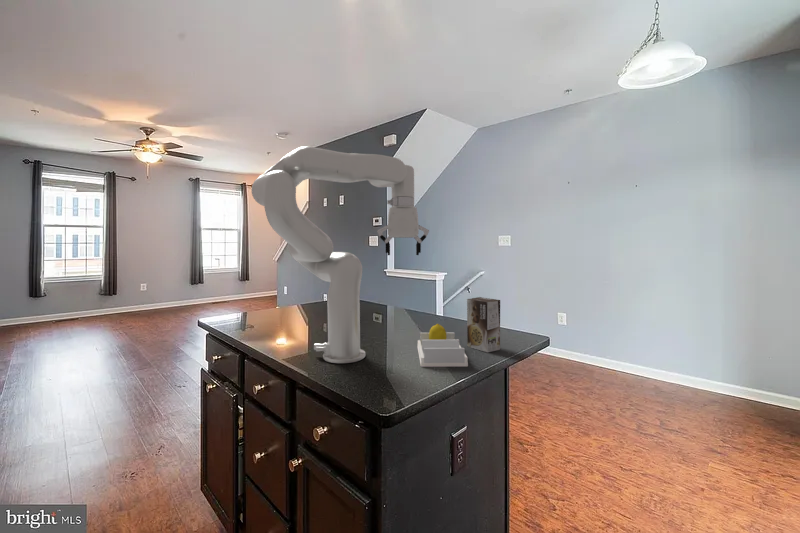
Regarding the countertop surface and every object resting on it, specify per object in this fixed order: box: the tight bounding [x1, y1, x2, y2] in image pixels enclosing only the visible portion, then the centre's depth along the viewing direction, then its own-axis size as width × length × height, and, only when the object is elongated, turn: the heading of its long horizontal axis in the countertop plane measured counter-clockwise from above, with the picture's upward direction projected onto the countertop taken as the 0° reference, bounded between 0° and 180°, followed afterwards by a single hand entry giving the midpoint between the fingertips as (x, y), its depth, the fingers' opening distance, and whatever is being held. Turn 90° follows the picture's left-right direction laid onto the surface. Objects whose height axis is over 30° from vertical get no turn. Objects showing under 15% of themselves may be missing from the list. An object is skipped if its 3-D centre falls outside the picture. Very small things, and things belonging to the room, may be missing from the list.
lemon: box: [428, 323, 447, 340], centre depth 113 cm, size 6×6×8 cm
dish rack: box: [416, 331, 469, 368], centre depth 109 cm, size 13×19×5 cm
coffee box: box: [466, 296, 501, 353], centre depth 117 cm, size 9×6×16 cm
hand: (403, 255), depth 120 cm, fingers open, 9 cm apart
